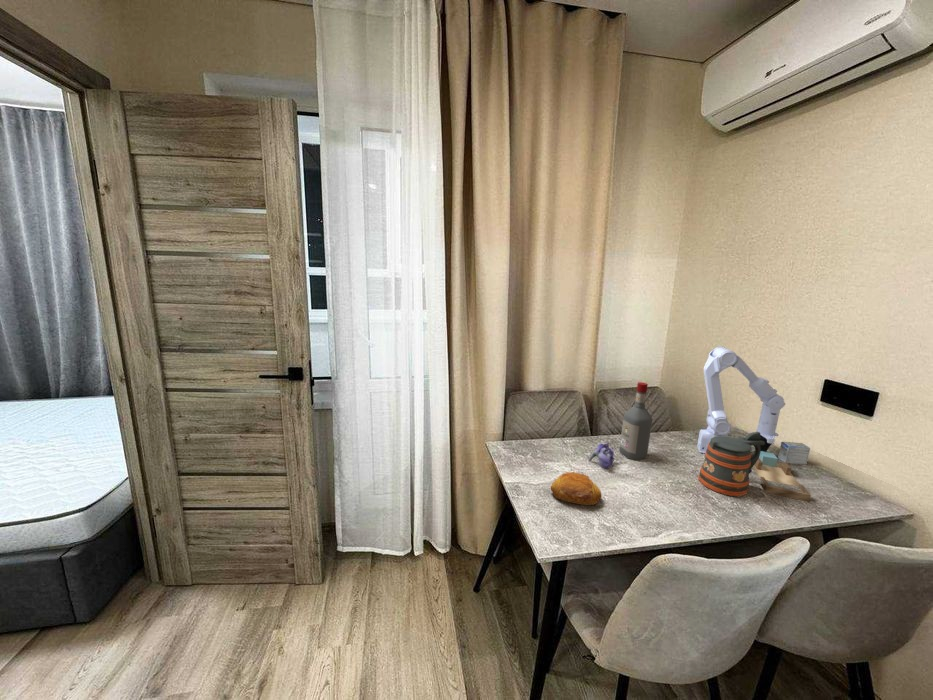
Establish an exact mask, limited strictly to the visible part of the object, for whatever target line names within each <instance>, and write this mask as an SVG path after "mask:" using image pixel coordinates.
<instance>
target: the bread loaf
mask: <svg viewBox="0 0 933 700" xmlns="http://www.w3.org/2000/svg"><path fill="white" fill-rule="evenodd" d="M550 490H551V492H552V495H553V497H555V498H556V499H558V500H561V501H565V502H568V503H572V504H577V505H583V506H584V505H585V506H591V505H592V506H594V505H595V504H598V503H599V501H601V499H602V491H601V489H600V488H599V487H598V485H597V484H596V483H594V482H593V481H592V479H590V477H589V475H586V474H583V473H578V472H570V471H569V472H566V473H562V474H561V475H560V476H558V477H557V479H555V480H554V481H553V482H552V484H551V486H550Z"/></svg>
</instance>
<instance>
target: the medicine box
mask: <svg viewBox="0 0 933 700" xmlns="http://www.w3.org/2000/svg"><path fill="white" fill-rule="evenodd" d="M810 451H811V447H810V446H808V445H806V444H804V443H802V442H795V441H794V442H793V441H792V442H790V441H781V443H780V447H779V452H778V456H777V458H778V460H780V461H781V462H782V463H783V462H787V463H788V464H795V465H808V464H807V462H808V459H809V456H810Z"/></svg>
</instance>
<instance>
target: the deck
mask: <svg viewBox="0 0 933 700" xmlns="http://www.w3.org/2000/svg"><path fill="white" fill-rule="evenodd" d="M762 464H763V462H762V461H761V460H760V458H758V460H757V462H756V463H755V464H754V466H753V467H752V468H753V470H754V471H755V473H756V475H757V477H758V478H759V479H760V481H761V483H759V484H760V486H761V488H762V489H763V491H764V493H765V494H766V493H767V494H770V495H775V496H778V497H779V496H780V497H785V498H790V499H793V500H794V499H795V500H799V501H804V502H808V503H809V502H810V500H811V496H812V495H811V493H810V492H809V491H808V490H807V489H806V487H805V486H804V485H803V484H800V483H799V481H798V480H797V479H796V477H795V476H794V475H793V473H791V472H792V466H791V465H789V464H790V463H787V462H783V461H782V462H779V461H777V465H776V467H772V466H767V465H762ZM768 481H769V482H774V483H779V484H783V485H789V486H794V487H798V488H799V490H800V491H798V490H793V489H788V488H784V487H779V486H774V485H770V484H769V482H768Z"/></svg>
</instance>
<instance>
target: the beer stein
mask: <svg viewBox="0 0 933 700" xmlns="http://www.w3.org/2000/svg"><path fill="white" fill-rule="evenodd" d="M764 444H765V442H764V441H761V440H760V432H756V431H754V432H750V433H748V434H747V435H746V436H745V437H742V436H741V437H737V438H735V437H732V436H731V437H730V436H728V435H727V436H716V437H713V438H711V441H710V442H709V443H708V447H707V450H706V453H704V455H705V456H704V457H705V458H704V460H703V464H702V465H701V466H700V469H699V470H700V471H699V474H698V480H699V482H700V484H702V485H703V486H704V487H706V488H708V489H709V490H712V492H715V493H718V494H721V495H725V496H728V497H742V496H745V495H746V494H748V493H749V485H750V477H749V476H750V474H751V473H752V472H753V471H752V470H753V469H752V468H753V466H754V464H755V463H756V462H757V460H758V458H759V456H760V452H761V448H760V445H764ZM752 446H754V452H753V453H751V451H752Z"/></svg>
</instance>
